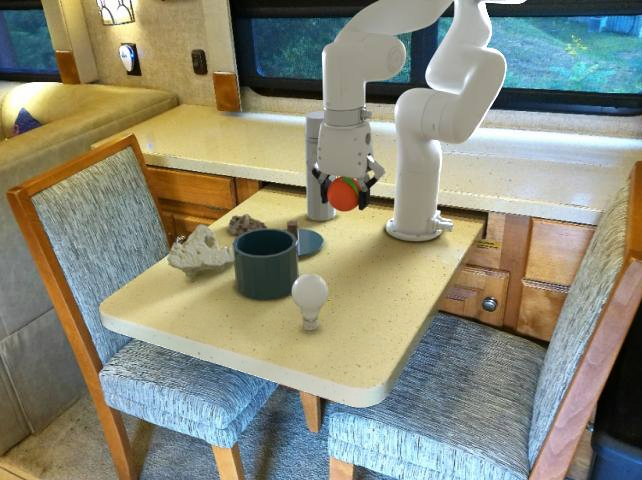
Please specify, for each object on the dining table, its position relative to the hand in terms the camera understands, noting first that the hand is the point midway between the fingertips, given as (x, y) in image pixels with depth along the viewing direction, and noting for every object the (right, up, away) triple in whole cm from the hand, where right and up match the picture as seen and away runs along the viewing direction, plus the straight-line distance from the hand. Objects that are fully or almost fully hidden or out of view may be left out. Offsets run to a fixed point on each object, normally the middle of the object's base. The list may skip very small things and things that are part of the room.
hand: (344, 203), depth 119 cm
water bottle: (-1, +1, +29) cm, 29 cm away
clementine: (0, -1, +1) cm, 2 cm away
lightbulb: (-8, -24, -11) cm, 28 cm away
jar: (-15, -16, +3) cm, 22 cm away
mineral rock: (-20, -3, +25) cm, 32 cm away
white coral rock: (-29, -14, +7) cm, 33 cm away
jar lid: (-10, -6, +16) cm, 20 cm away
